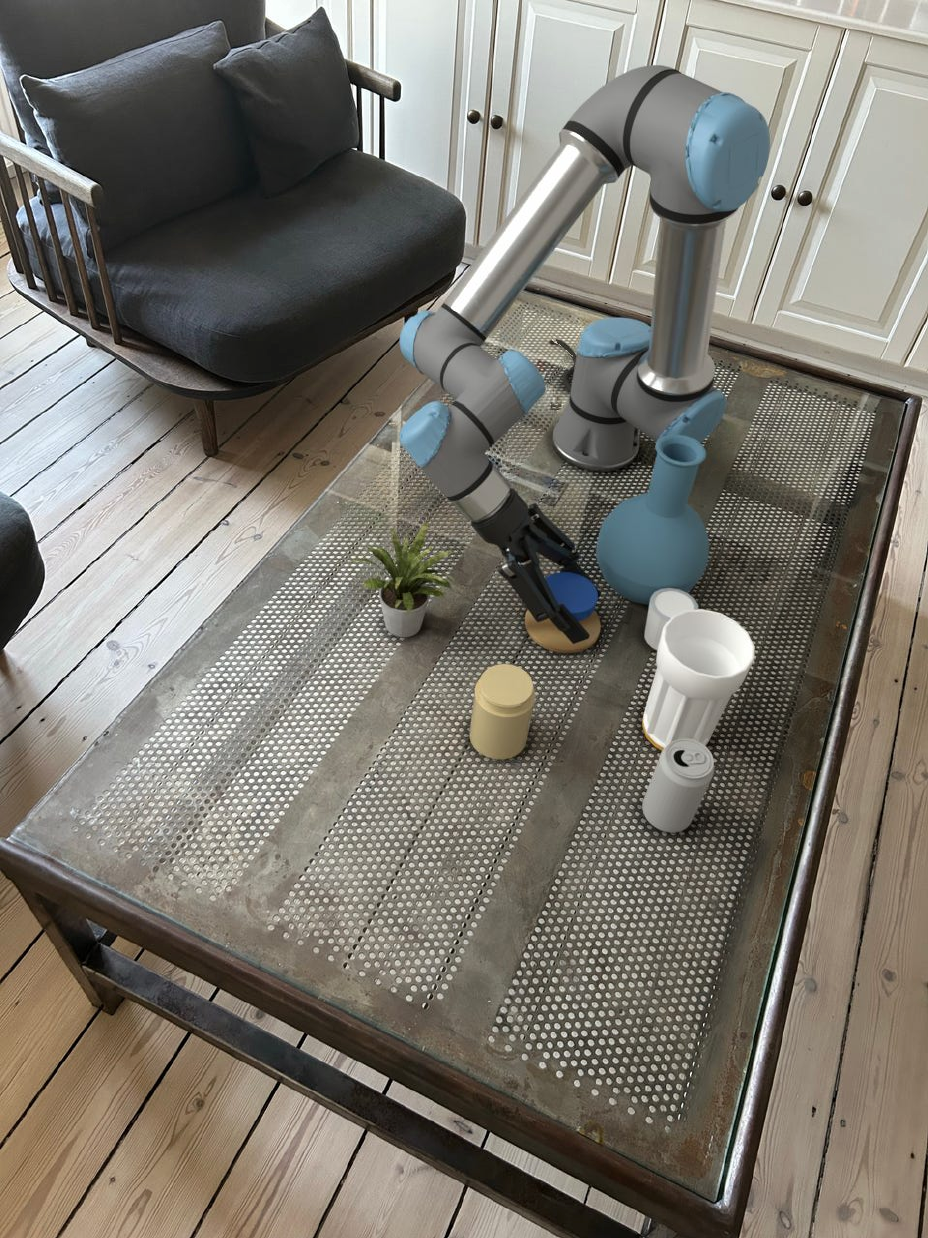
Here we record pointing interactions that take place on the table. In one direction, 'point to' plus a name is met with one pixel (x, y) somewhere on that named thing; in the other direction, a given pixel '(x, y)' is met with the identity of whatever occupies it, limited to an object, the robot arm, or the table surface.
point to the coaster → (561, 634)
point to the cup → (695, 676)
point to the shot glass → (665, 611)
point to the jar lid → (574, 593)
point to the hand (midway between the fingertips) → (587, 617)
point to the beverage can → (678, 785)
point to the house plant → (406, 584)
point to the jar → (502, 711)
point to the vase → (657, 529)
